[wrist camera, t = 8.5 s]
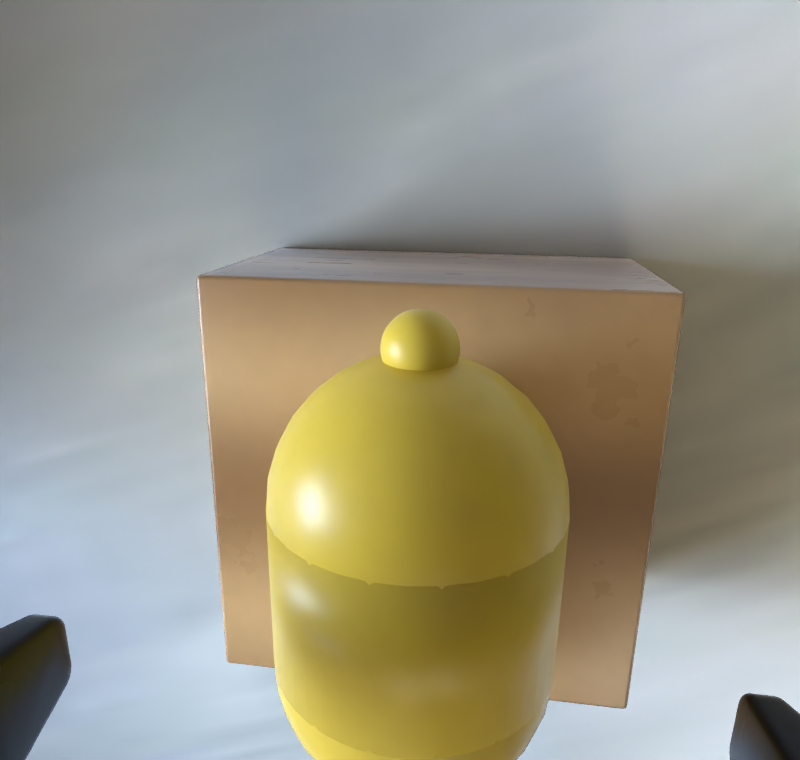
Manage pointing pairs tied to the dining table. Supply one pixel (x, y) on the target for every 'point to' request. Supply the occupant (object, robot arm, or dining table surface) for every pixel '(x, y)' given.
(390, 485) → the lemon
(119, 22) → the dining table surface
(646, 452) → the maple block
